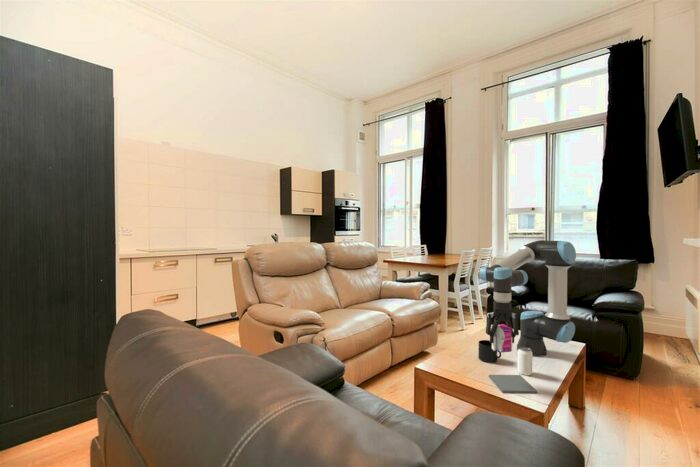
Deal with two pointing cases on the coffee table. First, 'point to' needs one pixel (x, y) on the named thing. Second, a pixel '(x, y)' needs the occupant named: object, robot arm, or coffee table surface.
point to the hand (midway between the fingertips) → (501, 349)
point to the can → (524, 361)
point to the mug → (487, 352)
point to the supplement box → (503, 338)
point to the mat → (512, 384)
